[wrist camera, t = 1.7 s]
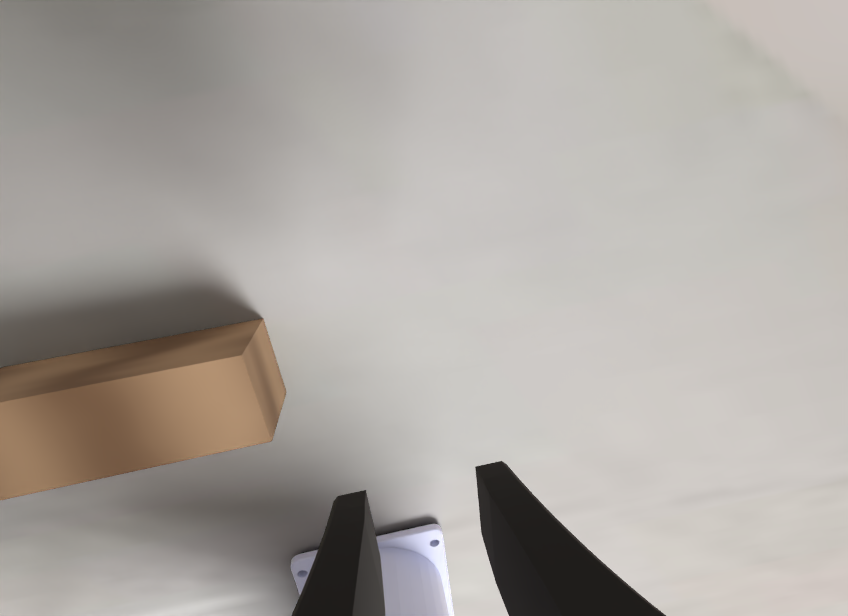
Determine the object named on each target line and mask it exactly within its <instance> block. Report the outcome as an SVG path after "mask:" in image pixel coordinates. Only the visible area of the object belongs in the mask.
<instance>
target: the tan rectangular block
mask: <svg viewBox="0 0 848 616" xmlns="http://www.w3.org/2000/svg"><path fill="white" fill-rule="evenodd" d="M285 395H286V389H285V386H284V383H283V380H282V377H281V373H280V370H279V367H278V364H277V361H276V357H275V354H274V351H273V348H272V345H271V342H270V338H269V335H268V332H267V329H266V326H265V322H264V319H258V320H253V321H247V322H242V323H237V324H231V325H226V326H221V327H215V328H210V329H204V330H199V331H194V332H188V333H183V334H178V335H172V336H167V337H162V338H156V339H151V340H146V341H140V342H135V343H130V344H124V345H119V346H114V347H108V348H103V349H98V350H92V351H87V352H82V353H76V354H71V355H66V356H60V357H55V358H50V359H44V360H39V361H34V362H28V363H23V364H18V365H12V366H7V367H2V368H0V500H4V499H9V498H13V497H18V496H23V495H27V494H32V493H36V492H41V491H45V490H50V489H55V488H59V487H64V486H68V485H73V484H78V483H82V482H87V481H91V480H96V479H101V478H105V477H110V476H114V475H119V474H124V473H128V472H133V471H137V470H142V469H147V468H151V467H156V466H160V465H165V464H170V463H174V462H179V461H183V460H188V459H193V458H197V457H202V456H206V455H211V454H216V453H220V452H225V451H229V450H234V449H239V448H243V447H248V446H252V445H257V444H262V443H266V442H271V441H272V439H273V436H274V432H275V429H276V426H277V422H278V419H279V416H280V412H281V409H282V405H283V402H284V399H285Z"/></svg>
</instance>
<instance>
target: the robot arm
mask: <svg viewBox="0 0 848 616" xmlns="http://www.w3.org/2000/svg"><path fill="white" fill-rule="evenodd" d="M476 477H477V488H478V499H479V510H480V521H481V532H482V536H483V540H484V543H485V547H486V550H487V554H488V557H489V561H490V564H491V567H492V571H493V574H494V577H495V581H496V584H497V586H498V589H499V591H500V594H501V596H502V599H503V602H504V604H505V607H506V609H507V612H508V614H509V616H666V615H664V614H663V613H662V612H661V611H659V610H658V609H657V608H656V607H654V606H653V605H652V604H651V603H649V602H648V601H647V600H646V599H645V598H643V597H642V596H641V595H640V594H638V593H637V592H636V591H635V590H634V589H633V588H631V587H630V586H629V585H628V584H627V583H626V582H624V581H623V580H622V579H621V578H620V577H619V576H617V575H616V574H615V573H614V572H613V571H612V570H611V569H610V568H608V567H607V566H606V565H605V564H604V563H603V562H602V561H600V560H599V559H598V558H597V557H596V556H595V555H594V554H593V553H592V552H591V551H590V550H588V549H587V548H586V547H585V546H584V545H583V544H582V543H581V542H580V541H579V540H578V539H577V538H576V537H575V536H574V535H573V534H572V533H571V532H570V531H569V530H568V529H567V528H566V527H564V526H563V525H562V524H561V523H560V522H559V521H558V520H557V519H556V518H555V517H554V516H553V515H552V514H551V513H550V512H549V511H548V510H547V509H546V508H545V507H544V505H543V504H542V503H541V502H540V501H539V500H538V499H537V498H536V497H535V496H534V495H533V494H532V493H531V492H530V491H529V489H528V488H527V487H526V486H525V485H524V484H523V483H522V482H521V481H520V480H519V478H518V477H517V476H516V475H515V474H514V473H513V471H512V470H511V469H510V468H509V467H508V466H507V464H505V463H504V462H502V461H500V462H495V463H491V464H486V465H481V466H477V467H476ZM435 539H436V540H435ZM291 571H292V574H293V577H294V580H295V583H296V586H297V589H298V592H299V594H300V597H299V600H298V602H297V604H296V607H295V609H294V611H293V614H292V616H454V612H453V605H452V598H451V591H450V583H449V576H448V569H447V562H446V554H445V547H444V540H443V533H442V529H441V526H439V525H438V524H429V525H425V526H420V527H416V528H411V529H407V530H403V531H398V532H394V533H389V534H385V535H381V536H376V534H375V530H374V525H373V521H372V516H371V512H370V507H369V503H368V498H367V494H366V490H365V491H360V492H355V493H351V494H346V495H341V496H338V497H337V498H336V499H335V500H334V502H333V506H332V509H331V513H330V516H329V519H328V523H327V526H326V529H325V532H324V535H323V538H322V541H321V543H320V546H319V549H318V550H315V551H310V552H306V553H301V554H298V555H296V556H294V557H293V558H292V560H291Z"/></svg>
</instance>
